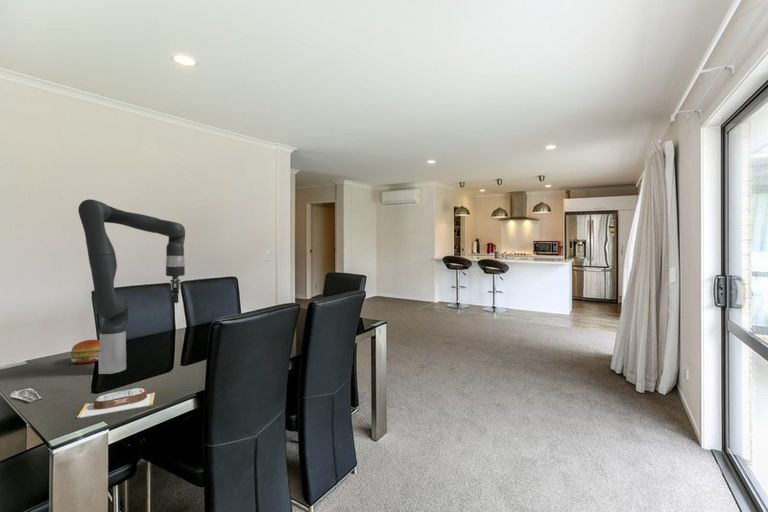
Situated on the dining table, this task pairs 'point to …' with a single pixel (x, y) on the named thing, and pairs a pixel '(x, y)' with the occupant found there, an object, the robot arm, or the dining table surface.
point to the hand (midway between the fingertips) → (175, 302)
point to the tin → (120, 398)
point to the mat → (91, 411)
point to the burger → (86, 351)
